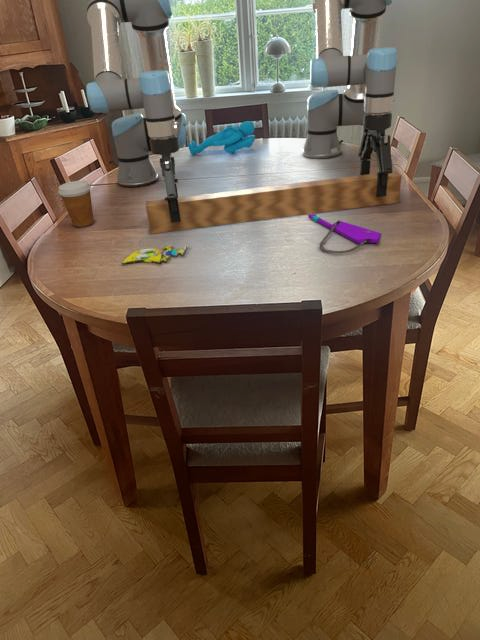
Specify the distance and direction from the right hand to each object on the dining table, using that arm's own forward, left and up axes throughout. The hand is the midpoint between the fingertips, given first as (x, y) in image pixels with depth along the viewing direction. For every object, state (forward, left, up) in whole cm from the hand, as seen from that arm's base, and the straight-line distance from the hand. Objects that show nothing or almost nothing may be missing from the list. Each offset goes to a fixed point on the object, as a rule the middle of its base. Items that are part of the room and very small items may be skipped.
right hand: (372, 189), depth 143 cm
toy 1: (+37, -56, -4) cm, 68 cm away
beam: (+9, -28, -4) cm, 30 cm away
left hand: (+18, -56, 0) cm, 59 cm away
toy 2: (-66, -60, -4) cm, 90 cm away
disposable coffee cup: (+14, -88, -4) cm, 89 cm away
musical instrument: (+25, -11, -4) cm, 28 cm away
